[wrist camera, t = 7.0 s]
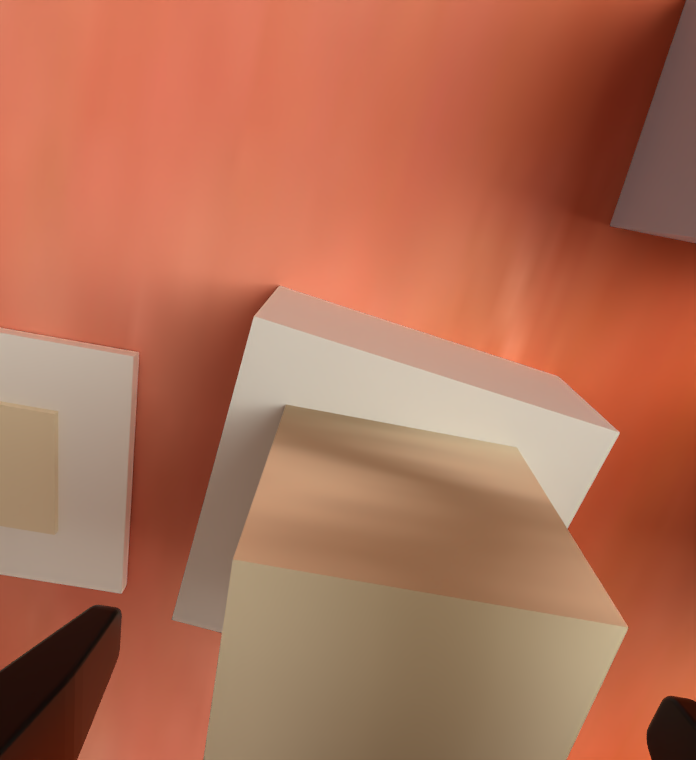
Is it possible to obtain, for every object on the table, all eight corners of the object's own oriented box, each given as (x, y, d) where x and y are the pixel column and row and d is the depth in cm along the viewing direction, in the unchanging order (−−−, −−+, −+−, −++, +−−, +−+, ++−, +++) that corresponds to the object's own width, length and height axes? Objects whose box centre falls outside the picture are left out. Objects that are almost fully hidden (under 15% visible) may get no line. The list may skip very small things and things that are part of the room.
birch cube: (254, 593, 13) (193, 827, 8) (285, 404, 11) (233, 559, 6) (456, 627, 13) (511, 874, 8) (516, 447, 11) (628, 627, 7)
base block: (213, 523, 17) (171, 619, 13) (281, 283, 14) (253, 316, 11) (448, 590, 18) (473, 699, 14) (554, 372, 15) (619, 432, 11)
